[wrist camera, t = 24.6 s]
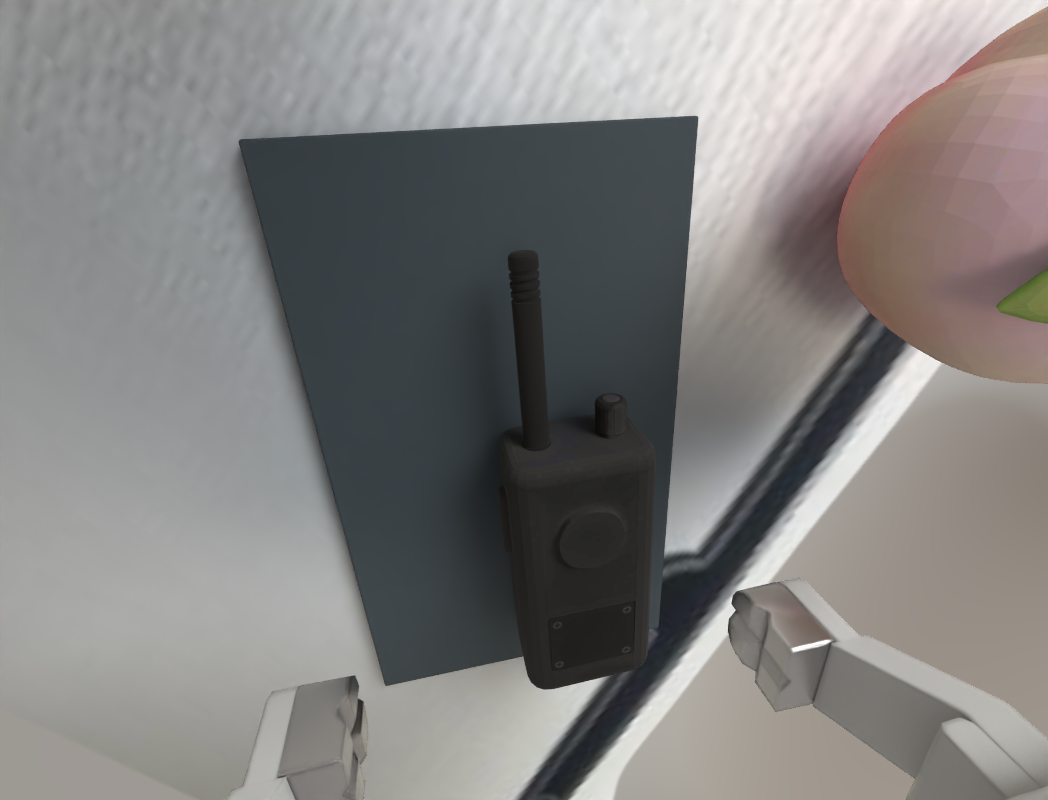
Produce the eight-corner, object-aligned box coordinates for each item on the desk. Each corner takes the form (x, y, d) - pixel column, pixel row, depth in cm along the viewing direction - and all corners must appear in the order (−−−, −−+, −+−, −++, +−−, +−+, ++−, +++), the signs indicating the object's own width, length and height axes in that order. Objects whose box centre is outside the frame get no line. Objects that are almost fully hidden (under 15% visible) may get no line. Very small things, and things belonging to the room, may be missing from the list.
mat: (653, 618, 23) (658, 627, 22) (385, 675, 21) (385, 686, 20) (690, 117, 14) (699, 115, 14) (243, 140, 12) (237, 139, 12)
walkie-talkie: (622, 601, 21) (626, 231, 15) (656, 673, 18) (680, 246, 12) (510, 625, 20) (464, 248, 14) (526, 704, 17) (477, 269, 11)
